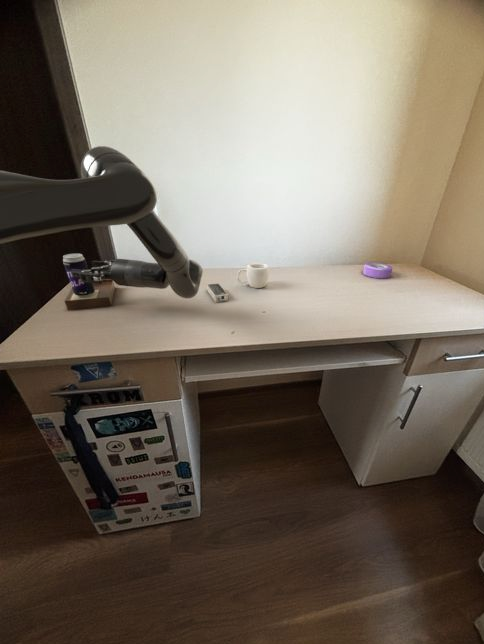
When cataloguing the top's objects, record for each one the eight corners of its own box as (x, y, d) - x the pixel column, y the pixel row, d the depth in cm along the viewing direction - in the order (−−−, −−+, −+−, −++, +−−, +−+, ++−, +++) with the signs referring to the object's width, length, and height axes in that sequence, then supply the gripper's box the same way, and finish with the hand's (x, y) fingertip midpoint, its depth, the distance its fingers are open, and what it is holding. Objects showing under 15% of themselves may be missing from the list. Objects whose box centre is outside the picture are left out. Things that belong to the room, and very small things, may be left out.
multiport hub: (219, 289, 104) (218, 283, 103) (228, 300, 96) (228, 294, 94) (207, 290, 102) (206, 284, 101) (215, 302, 94) (215, 295, 93)
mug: (267, 282, 112) (268, 262, 108) (269, 289, 105) (270, 269, 101) (237, 281, 111) (236, 261, 107) (237, 289, 104) (236, 268, 100)
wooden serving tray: (67, 310, 85) (62, 296, 83) (77, 291, 98) (73, 278, 95) (111, 305, 89) (107, 292, 86) (115, 288, 101) (111, 275, 99)
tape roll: (358, 270, 129) (360, 262, 127) (381, 270, 131) (383, 261, 129) (370, 279, 120) (373, 270, 118) (395, 278, 122) (398, 269, 119)
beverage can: (73, 293, 88) (60, 254, 82) (93, 290, 91) (82, 252, 85) (76, 299, 85) (62, 259, 78) (97, 295, 87) (85, 256, 81)
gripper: (144, 253, 85) (95, 249, 87) (115, 267, 73) (59, 262, 75) (148, 278, 89) (102, 273, 91) (122, 295, 77) (69, 289, 79)
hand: (83, 268), depth 83 cm, fingers open, 8 cm apart
